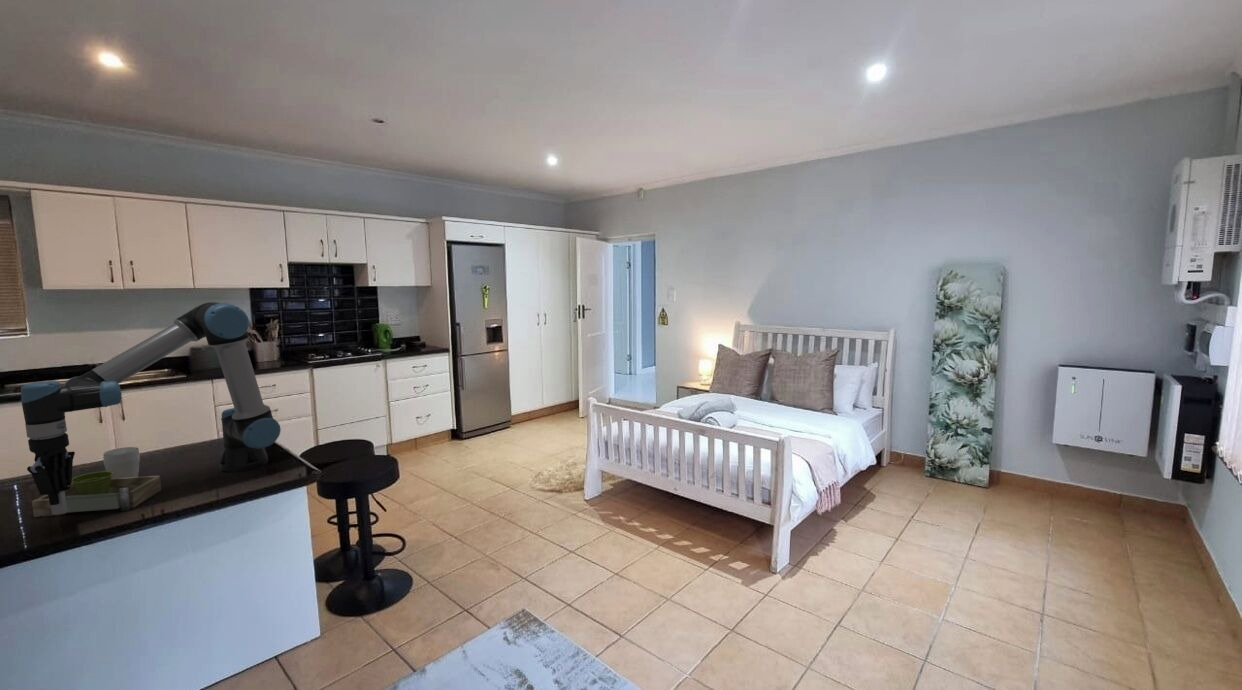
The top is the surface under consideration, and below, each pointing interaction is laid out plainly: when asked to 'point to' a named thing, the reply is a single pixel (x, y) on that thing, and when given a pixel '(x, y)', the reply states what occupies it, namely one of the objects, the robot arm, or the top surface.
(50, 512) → the pen walls
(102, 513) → the top surface
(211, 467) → the top surface
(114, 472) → the cup
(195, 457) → the top surface
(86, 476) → the plant pot
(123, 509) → the hinge post
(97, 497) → the gate
